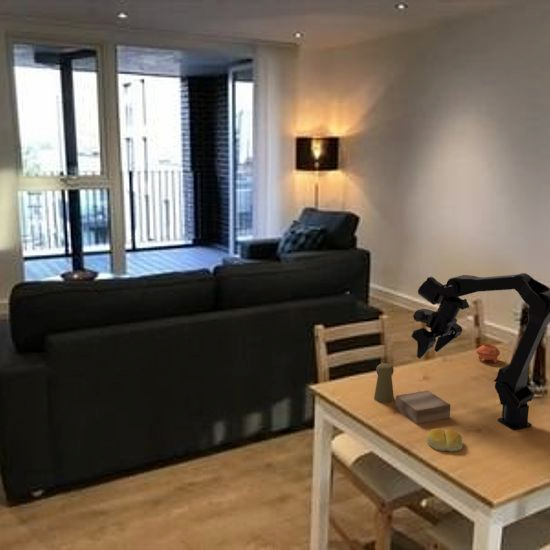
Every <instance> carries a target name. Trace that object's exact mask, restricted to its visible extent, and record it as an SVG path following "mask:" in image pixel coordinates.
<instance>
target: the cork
mask: <svg viewBox="0 0 550 550" xmlns="http://www.w3.org/2000/svg"><path fill="white" fill-rule="evenodd" d="M375 371H376V374H377V378H376V385H375V389H374V390H375V391H374V396H373V399H374V400H375V401H376V402H379V403H383V404H384V403H385V404H389V403H392V402H393V401H394V400H395V396H394V395H395V393H394V388H393V387H394V386H393V375H394V372H395V371H394V367H393V365H391V364H389V363H383V362H382V363H380V364H378V365H377V366H376V368H375Z"/></svg>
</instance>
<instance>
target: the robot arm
mask: <svg viewBox="0 0 550 550" xmlns="http://www.w3.org/2000/svg"><path fill="white" fill-rule="evenodd" d="M509 290H510V291H511V290H515V291H516V292H517V293H518V294H519V296H520V298H521V299H522V300H523V302H524V303H526V305H528V308H527V309H528V311H527V316H528V322H527V324H526V327H525V328H524V331H523V332H522V335H521V338H520V340H519V342H518V344H517V345H518V346H517V348H516V349H515V352H514V354H513V357H512V358H511V361H510V363H509V364H507V365H505V366H503V367H501V368H499V370H498V372H497V375H496V377H495V379H494V380H493V382H495V383H494V389H495V391H496V393H497V394H498V399H499V402H500V405H502V411H501V417H498V418H497V421H498V422H500V423H501V424H503V425H504V426H506V427H508V428H509V429H511V430H515V431H516V430H520V429H525V428H528V427H529V428H530V427H532V426H533V424H532V423H531V422H529V410H530V406H529V405H528V403H529V402H532V400H533V399H534V398H535V395H534V393H533V392H532V390H531V389H530V387H529V386H528V384H527V383H528V379H529V376H528V369H529V367H530V364H531V362H532V360H533V357H534V355H535V353H536V351H537V348H538V347H539V344H540V341H541V340H542V337H543V335H544V332H545V330H546V328H547V326H548V325H549V323H550V287H549V286H548V285H546V284H544V283H542V282H540V281H538V280H536V279H535V278H533V277H532V276H531V275H529V274H528V273H526V272H525V273H523V272H522V273H519V274H507V275H498V276H497V275H496V276H484V277H481V276H480V277H479V276H476V275H470V274H469V275H468V274H463V275H459V276H458V275H457V276H454V277H451V278H449V279H447V282H446V284H443V283H441V282H440V281H438V280H437V279H436V278H434V277H433V276H429V277H427V278H426V280H424V281H423V283H422V284H421V285H420V286H419V288H418V290H417V294H418V295H419V296H420V297H421V298H423V299H424V300H425V301H427V302H429V303H430V304H431V305H434V306H435V305H439V306H438V308H437V310H436V311H434V310H431V309H429V308H421V309H417V310H415V311H414V314H413V315H412V317H413V319H414V321H415V322H417V323H418V322H420V323H423V324H425V327H426V328H425V327H420V328H418V329H415V330H413V331H412V333H411V335H410V336H411V338H412V339H413V340H414V341H416V343H417V344H416V345H417V349H416V351H417V352H416V357H417V358H418V360H419V359H420V360H421V359H422V358H423V357H424V356H425V355H426V354H427V353H429V351H430V350H431V349H432V348H433V347H434V351H435V352H436V353H438V352H440V350H442V349H444V348H445V347H446V346H447V345H448V344H450V343H451V342H453V341H454V340H455V339H457V338H458V337H459V336H461V335H462V333H463V328H462V326H461V325H459V324H458V323H457V322H458V318H457V316H458V314H459V312H460V310H462V311H463V310H466V309H469V308H470V304H469V303H468V300H467V298H463V299H462V298H460V297H463V296H467V295H470V294H473V293H477V292H478V293H479V292H492V291H494V292H495V291H509ZM427 328H428V329H430V331H429V330H427ZM434 345H435V346H434Z"/></svg>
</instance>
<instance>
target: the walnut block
mask: <svg viewBox="0 0 550 550" xmlns="http://www.w3.org/2000/svg"><path fill="white" fill-rule="evenodd" d="M395 410H397V411H398V412H400V413H401V415H404V416H405V417H406V418H407V419H409V420H410V421H412V422H413V423H414V424H415V425H419V424H423V423H424V424H425V423H429V422H434V421H435V422H436V421H440V420H445V419H449V418H451V404H450V403H449V402H447V401H445V400H444V399H442V398H441V397H439V396H437V395H436V394H435V393H433V392H431V391H429V390H423V391H416V392H411V393H404V394H400V395H398V394H397V395H395Z"/></svg>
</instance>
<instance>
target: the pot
mask: <svg viewBox="0 0 550 550" xmlns="http://www.w3.org/2000/svg"><path fill="white" fill-rule="evenodd" d="M476 353H477V355H478V359H479V362H482V360H487V361H491V360H493V362H494V363H497V361H498V357H499V356H500V355H501V352H500V350H499V349H498V347H496V345H495V346H494V343H483V344H482V345H480V346H479V347H478V348H477V350H476Z"/></svg>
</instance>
